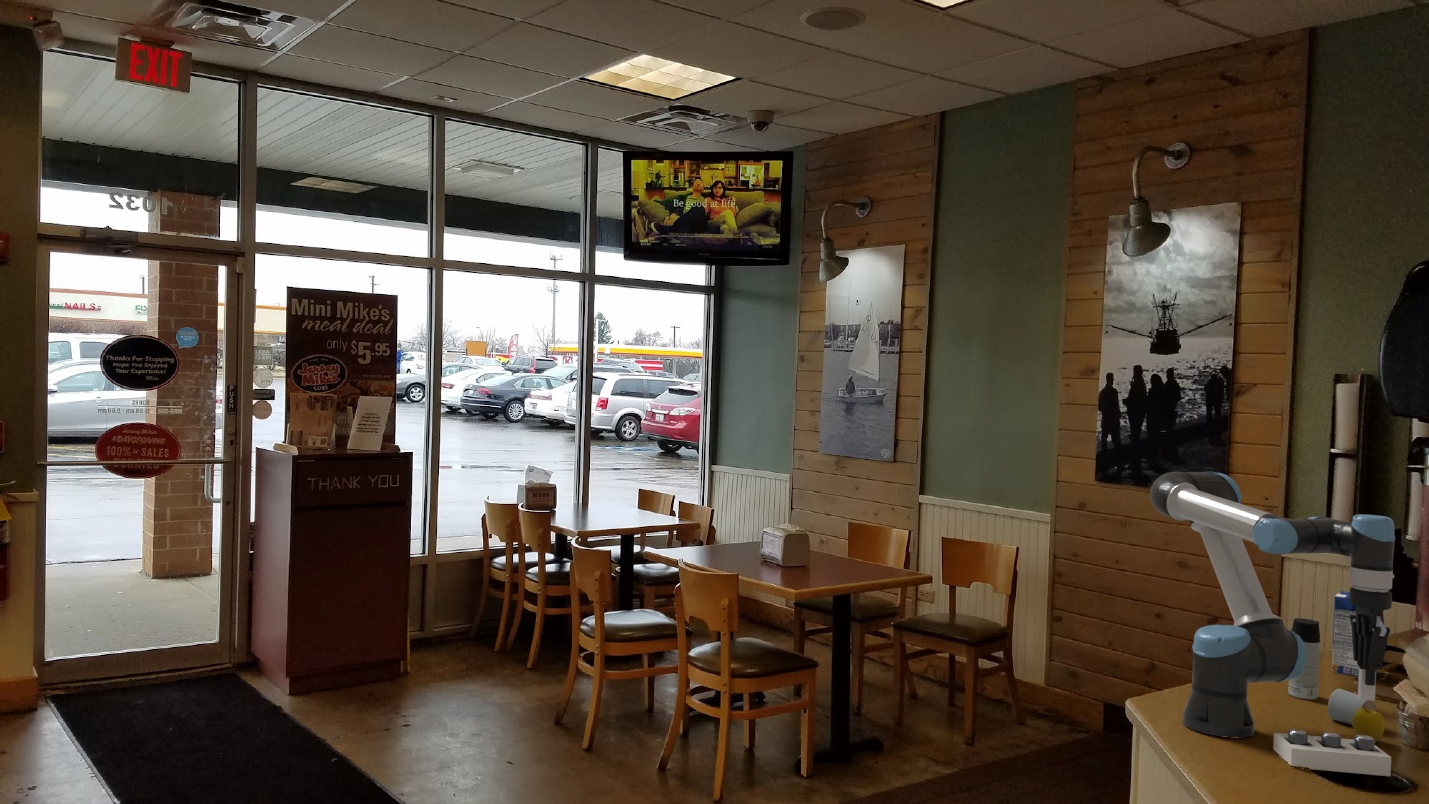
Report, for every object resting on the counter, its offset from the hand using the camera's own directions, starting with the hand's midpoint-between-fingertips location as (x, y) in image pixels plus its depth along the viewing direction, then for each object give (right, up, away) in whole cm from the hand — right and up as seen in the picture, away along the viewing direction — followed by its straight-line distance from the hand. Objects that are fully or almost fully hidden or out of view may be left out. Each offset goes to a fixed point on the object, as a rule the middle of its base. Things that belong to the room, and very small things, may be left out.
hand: (1366, 698), depth 211 cm
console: (-7, -14, +1) cm, 16 cm away
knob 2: (0, -12, 0) cm, 12 cm away
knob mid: (-7, -12, +1) cm, 14 cm away
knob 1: (-13, -12, +3) cm, 18 cm away
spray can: (+16, -15, +50) cm, 55 cm away
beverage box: (+45, -15, +77) cm, 91 cm away
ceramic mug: (+16, -15, +29) cm, 37 cm away
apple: (+11, -15, +16) cm, 25 cm away
